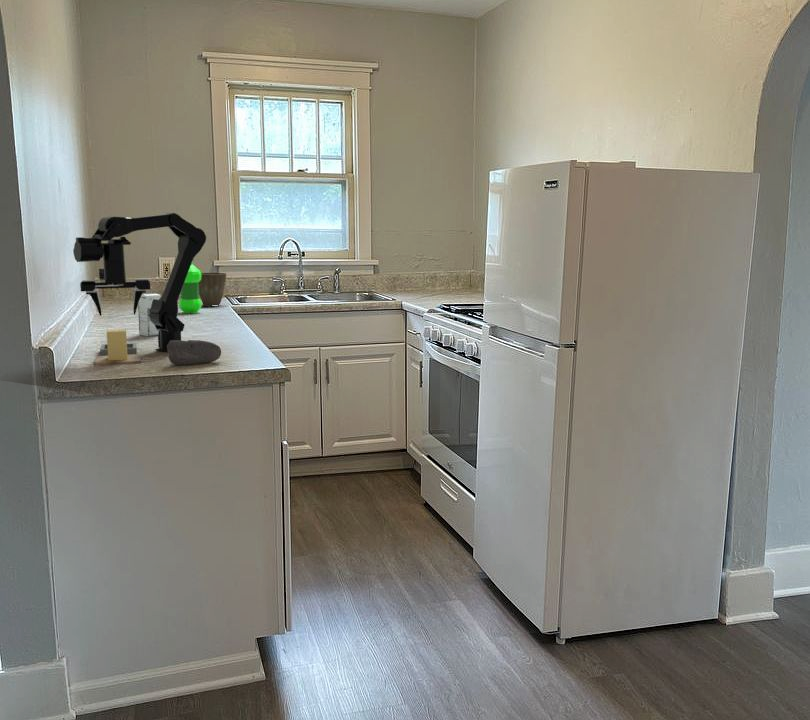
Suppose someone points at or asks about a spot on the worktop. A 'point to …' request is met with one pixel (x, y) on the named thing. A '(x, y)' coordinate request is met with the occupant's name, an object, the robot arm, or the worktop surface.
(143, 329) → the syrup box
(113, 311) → the worktop surface
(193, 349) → the perforated stone tool
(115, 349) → the block
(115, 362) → the walnut board
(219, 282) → the plant pot
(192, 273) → the plastic bottle
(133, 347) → the hinged window frame
